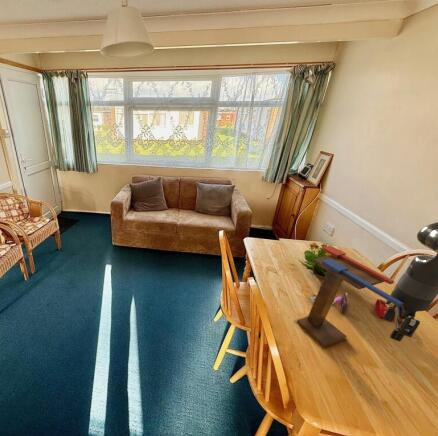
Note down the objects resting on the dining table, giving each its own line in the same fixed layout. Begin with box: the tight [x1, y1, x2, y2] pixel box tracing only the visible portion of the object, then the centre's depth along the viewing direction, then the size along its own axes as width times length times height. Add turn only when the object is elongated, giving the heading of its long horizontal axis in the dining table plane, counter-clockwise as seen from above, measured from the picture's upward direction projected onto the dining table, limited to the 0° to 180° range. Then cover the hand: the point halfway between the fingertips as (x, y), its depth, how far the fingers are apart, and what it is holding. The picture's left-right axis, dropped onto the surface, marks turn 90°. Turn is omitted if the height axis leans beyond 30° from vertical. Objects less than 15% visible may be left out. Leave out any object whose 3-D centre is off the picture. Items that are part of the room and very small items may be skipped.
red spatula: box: [321, 245, 395, 285], centre depth 83 cm, size 22×4×1 cm, turn 17°
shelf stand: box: [296, 255, 385, 348], centre depth 88 cm, size 16×14×32 cm
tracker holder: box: [373, 297, 404, 322], centre depth 102 cm, size 12×4×10 cm
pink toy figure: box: [332, 290, 349, 315], centre depth 106 cm, size 7×5×9 cm
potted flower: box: [298, 242, 342, 280], centre depth 123 cm, size 25×24×18 cm
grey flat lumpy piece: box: [309, 294, 317, 304], centre depth 109 cm, size 7×8×2 cm
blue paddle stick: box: [322, 259, 404, 307], centre depth 75 cm, size 22×4×1 cm, turn 17°
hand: (390, 328), depth 73 cm, fingers open, 8 cm apart
